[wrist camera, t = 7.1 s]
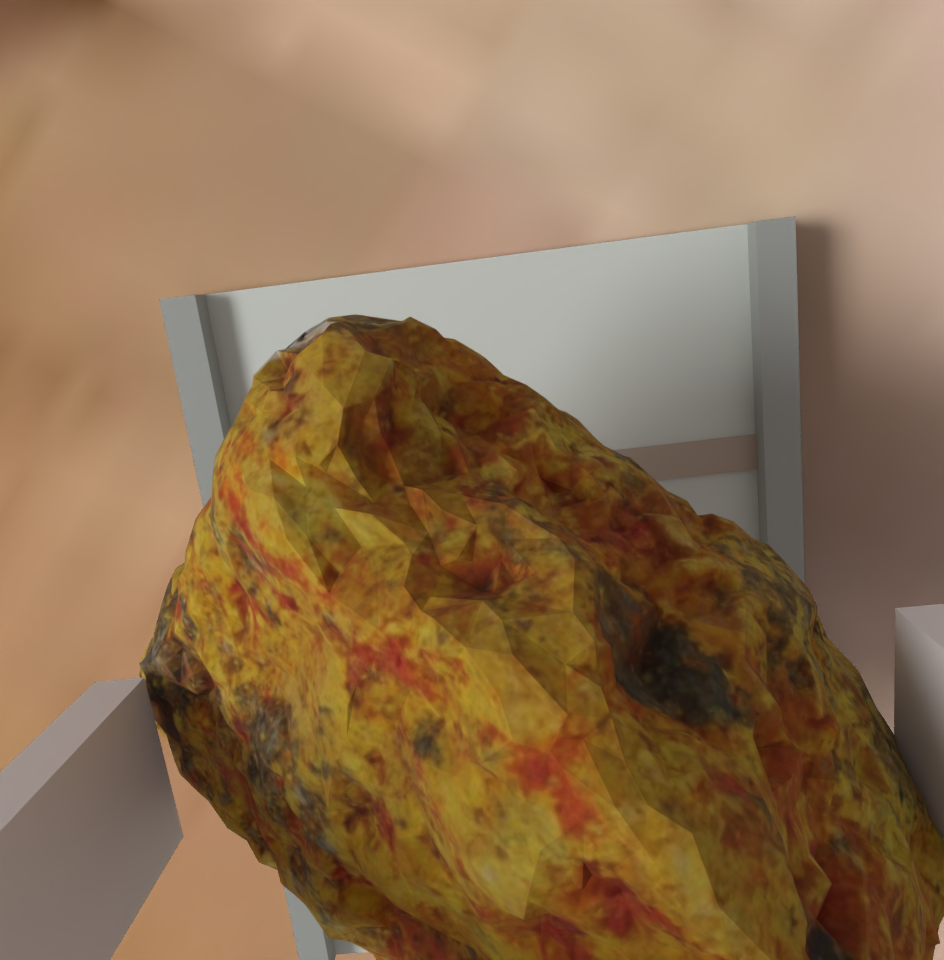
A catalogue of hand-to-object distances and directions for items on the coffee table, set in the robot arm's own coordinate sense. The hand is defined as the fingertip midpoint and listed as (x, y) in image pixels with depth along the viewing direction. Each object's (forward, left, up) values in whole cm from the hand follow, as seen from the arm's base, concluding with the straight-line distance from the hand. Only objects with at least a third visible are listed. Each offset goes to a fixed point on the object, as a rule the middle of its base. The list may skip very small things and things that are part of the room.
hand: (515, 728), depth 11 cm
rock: (0, 0, -3) cm, 3 cm away
